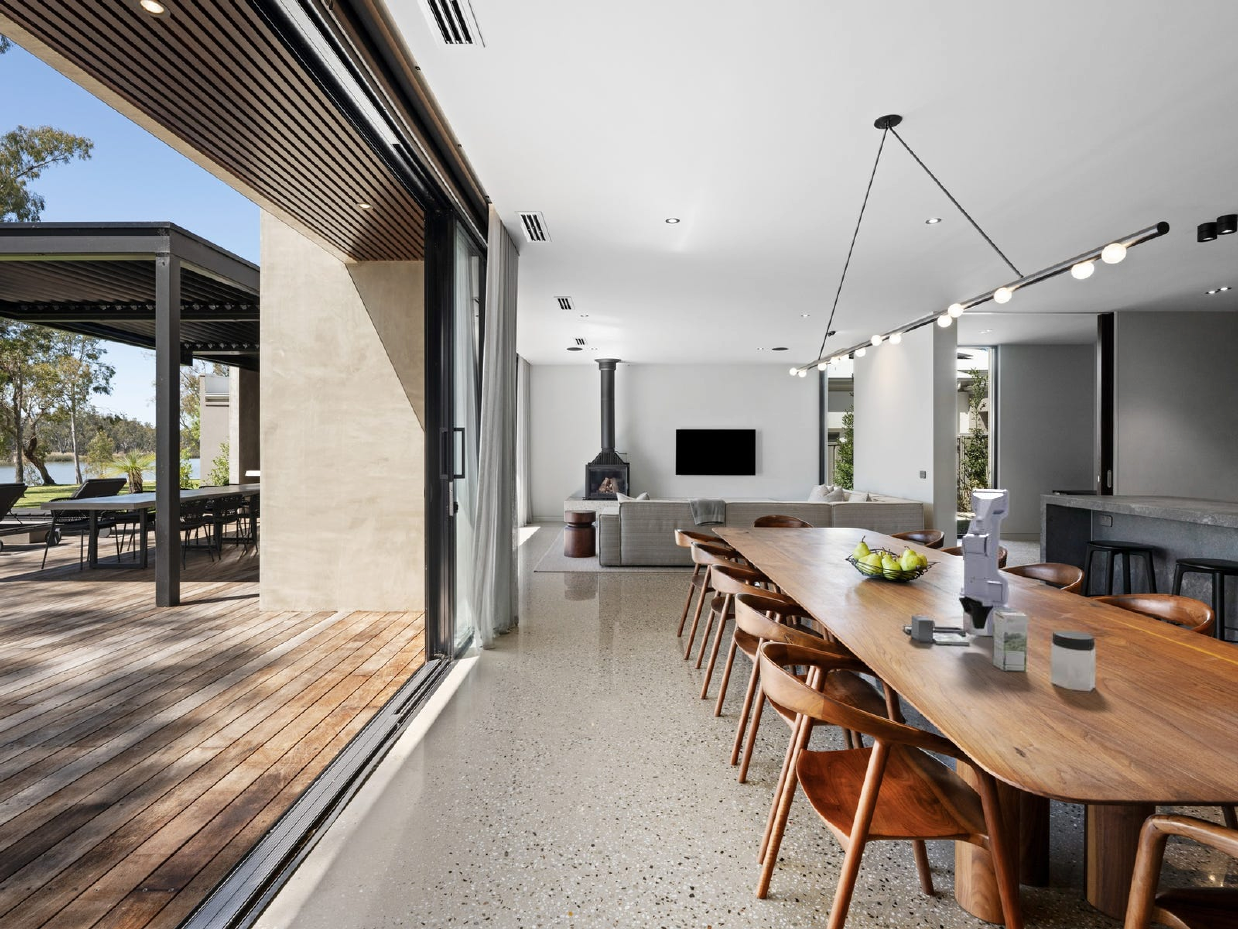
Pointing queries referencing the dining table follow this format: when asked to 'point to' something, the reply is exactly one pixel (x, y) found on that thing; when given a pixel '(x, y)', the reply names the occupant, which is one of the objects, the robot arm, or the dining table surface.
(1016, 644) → the syrup box
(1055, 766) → the dining table surface
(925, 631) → the press
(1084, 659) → the jar
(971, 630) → the block
